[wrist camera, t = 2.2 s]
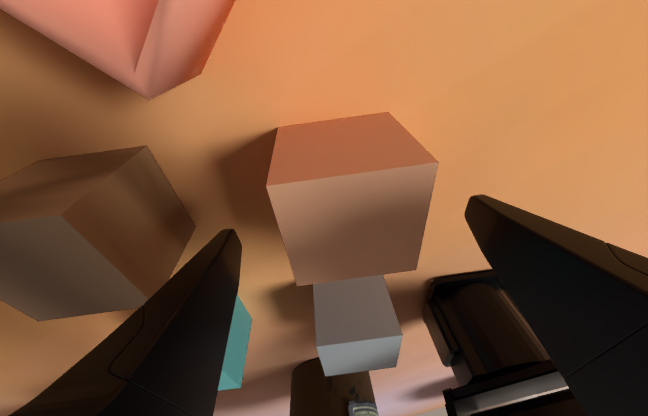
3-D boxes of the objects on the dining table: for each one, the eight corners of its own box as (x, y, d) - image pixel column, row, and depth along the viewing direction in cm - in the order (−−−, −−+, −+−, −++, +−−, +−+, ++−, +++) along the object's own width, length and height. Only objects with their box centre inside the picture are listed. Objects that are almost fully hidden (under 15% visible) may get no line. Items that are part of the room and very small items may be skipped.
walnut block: (147, 144, 11) (59, 214, 7) (196, 225, 14) (155, 305, 10) (39, 160, 11) (-110, 237, 7) (112, 237, 14) (37, 321, 10)
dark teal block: (232, 284, 18) (212, 360, 14) (252, 318, 21) (240, 387, 17) (165, 293, 18) (126, 371, 14) (195, 325, 21) (170, 397, 17)
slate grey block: (379, 265, 18) (402, 335, 14) (377, 301, 21) (396, 366, 17) (312, 274, 18) (316, 346, 14) (320, 309, 21) (325, 376, 17)
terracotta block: (387, 111, 11) (438, 161, 7) (382, 199, 14) (415, 269, 10) (278, 126, 11) (266, 186, 7) (297, 211, 14) (297, 286, 10)
